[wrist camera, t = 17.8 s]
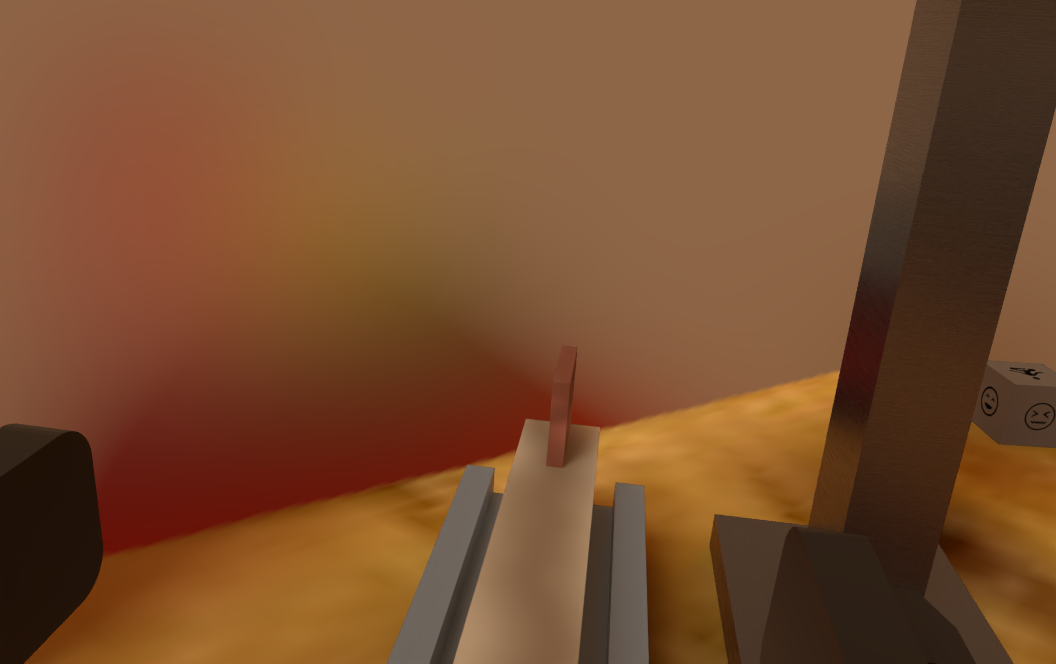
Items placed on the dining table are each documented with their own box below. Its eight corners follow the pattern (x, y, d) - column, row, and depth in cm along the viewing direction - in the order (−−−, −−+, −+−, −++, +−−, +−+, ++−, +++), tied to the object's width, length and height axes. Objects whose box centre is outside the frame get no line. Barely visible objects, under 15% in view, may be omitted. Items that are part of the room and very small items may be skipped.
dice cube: (1026, 420, 67) (1042, 363, 65) (1063, 449, 62) (1082, 388, 61) (965, 417, 67) (980, 360, 65) (998, 445, 62) (1015, 384, 60)
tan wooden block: (389, 980, 21) (394, 725, 18) (521, 484, 46) (531, 342, 43) (544, 1009, 21) (571, 752, 18) (593, 492, 45) (608, 350, 42)
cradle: (380, 773, 31) (381, 676, 29) (463, 536, 46) (467, 464, 44) (636, 813, 30) (650, 715, 28) (634, 558, 45) (644, 485, 43)
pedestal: (735, 710, 35) (897, -145, 24) (709, 544, 46) (810, -80, 36) (1032, 753, 34) (1335, -124, 23) (928, 572, 45) (1099, -64, 35)
